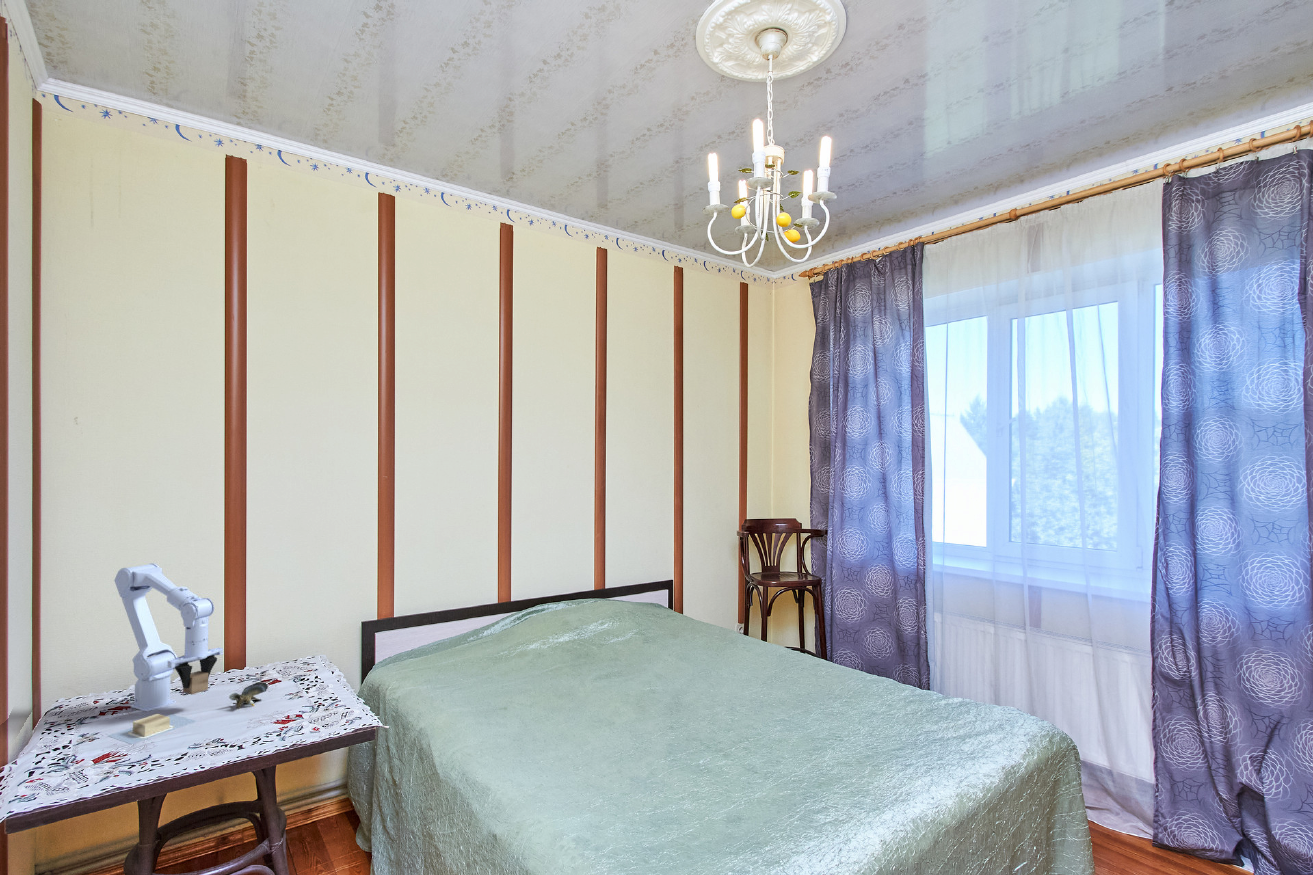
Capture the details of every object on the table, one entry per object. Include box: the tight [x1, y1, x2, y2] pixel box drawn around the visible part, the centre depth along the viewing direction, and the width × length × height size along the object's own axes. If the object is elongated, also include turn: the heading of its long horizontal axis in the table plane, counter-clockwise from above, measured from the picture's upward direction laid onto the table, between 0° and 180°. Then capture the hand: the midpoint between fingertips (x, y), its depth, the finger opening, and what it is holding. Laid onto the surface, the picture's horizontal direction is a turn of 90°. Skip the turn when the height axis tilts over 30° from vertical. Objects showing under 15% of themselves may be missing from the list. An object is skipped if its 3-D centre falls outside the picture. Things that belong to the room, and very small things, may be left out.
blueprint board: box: [107, 713, 197, 745], centre depth 176 cm, size 12×16×1 cm
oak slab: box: [132, 713, 170, 737], centre depth 174 cm, size 6×6×3 cm
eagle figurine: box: [228, 681, 269, 710], centre depth 193 cm, size 8×7×9 cm
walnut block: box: [182, 670, 209, 696], centre depth 189 cm, size 4×4×5 cm
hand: (195, 684), depth 189 cm, fingers closed on walnut block, 4 cm apart
